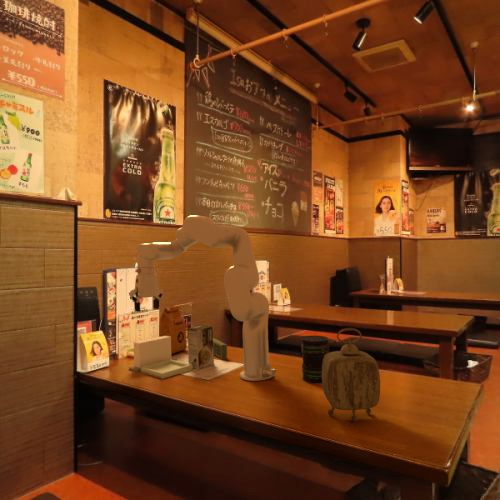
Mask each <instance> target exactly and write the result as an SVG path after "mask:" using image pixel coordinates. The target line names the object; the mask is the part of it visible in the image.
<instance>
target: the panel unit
mask: <svg viewBox="0 0 500 500" xmlns="http://www.w3.org/2000/svg"><path fill="white" fill-rule="evenodd" d="M133 359H134V361H133V362H134V365H132V366H128V370H129V371H133V372H136V373H137V372H138V373H139V372H141V367H145V366H148V365H152V364H156V363H160V362H164V361H167V360H175V361H178V360H177V358H174V357H172V354H171V337H170V336H161V337H159V336H158V337H157V336H156V337H153V338H149V339H148V338H147V339H143V340H139V341H133Z"/></svg>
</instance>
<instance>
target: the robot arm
mask: <svg viewBox="0 0 500 500" xmlns="http://www.w3.org/2000/svg"><path fill="white" fill-rule="evenodd" d="M181 226H182V227H180V228H178V229H177V230H176V231H175V239H173V240H171V241H169V242H150V243H138V244H137V247H136V258H137V259H136V261H137V263H136V264H137V268H136V269H135V270H134V271H135V273H136V276H135V281H134V289H132V290H131V291H130V292H128V295H129V297H130V300H132V302H133V303H134V305H133V307H134V311H135V312H141V302H140V301H141V300H142V299H144V298H146V299H147V298H153V309H155V310H159V309H160V300H161V298H162V296H163V293H164V291H165V290H164V289H163V288H161V287H160V286H159V283H160V282H159V277H158V274H157V273H156V261H161V260H172V259H175V258H176V257H178V256H181V255H183V254H184V253H186V251H187V250H188V249H189V247H191V246H193V245H195V244H196V243H201V244H204V245H206V246H209V247H212V248H231V260H232V264H233V266H230V267H229V268H228V269H227V270H226V271H225V274H224V277H223V284H224V289H225V294H226V298H227V302H228V307H229V310H230V314H231V315H232V317H233V318H234V319H236V321H239V322H243V323H242V349H243V350H242V351H243V352H242V354H243V356H242V357H243V358H242V359H243V370H242V371H240V372H239V377H240V378H241V379H242V380H245V381H250V382H256V381H257V382H259V381H265V380H269V379H271V378H273V377H274V376H275V375H276V373H277V370H276V369H275V368H272V364H270V362H269V330H268V329H269V327H268V326H269V314H270V313H269V312H270V302H269V299H268V297H267V296H266V295H265V294H263V293H262V292H258V291H256V292H255V291H252V292H251V291H250V290H252V289H255V288H257V286H258V285H259V284H260V283H259V282H260V274H259V270H258V266H257V262H256V257H255V255H254V250H253V244H252V240H251V237H250V235H249V233H248V232H247V231H246V230H245V229H244V228H241V227H239V226H235V225H223V224H215V222H214V221H213V220H212V219H211V218H210V217H208V216H202V215H189V216H187V217H186V218H184V220H183V222H182V225H181Z"/></svg>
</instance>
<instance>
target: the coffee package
mask: <svg viewBox="0 0 500 500" xmlns="http://www.w3.org/2000/svg"><path fill="white" fill-rule="evenodd" d="M180 309H181V306H180V305H174V306H171V307H170V306H169V307H164V309H163V311H162V314H161V316H160V319H159V327H158V329H159V332H158V335H159V336H158V337H161V336H170V337H171V355H172V354H176V353H180V352H183V351H186V349H188V342H187V327H186V323H185V321H184V318H183V317H182V315H181V311H180Z"/></svg>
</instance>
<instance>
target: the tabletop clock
mask: <svg viewBox="0 0 500 500" xmlns="http://www.w3.org/2000/svg"><path fill="white" fill-rule="evenodd" d="M346 331H347V332H348V331H354V332H356V333H358V335H359V338H357V339H355V340H352V338H351V337H348V338H347V339H346V340H343V339H341V338H340V337H339V336H340V334H342V333H343V332H346ZM362 337H363V335H362V333H361V331H360V330H359V329H357V328H353V327H346V328H342V329H340V330H339V331H338V332H337V334H336V338H337V341H339V342H340V343H343V344H344V345H342V346H341V349H340V350H339V351H338V350H335V351H329V353H328V354H326V355H325V356H324V359H323V363H322V383H321V384H322V390H323V394H324V395H325V396H324V397H325V398H326V400H327V401H328V403H329V404H330V407H331V409H328V411H327V414H328V416H333V415H334V411H335V409H336V410H341V411H351V412H352V415H351V417H350V418H351V421H352V422H353V423H356V422H357V421H358V417H357V416H356V411H359V410H360V411H361V410H364V411H365V414H367V415H370V414H371V413H372V410H371V409H372V408H374V407H377V405H378V404H379V401H380V396H381V375H380V368H379V364H378V362H377V360H376V358H374V357H373V356H371V355H370V354H369V353H367V352H365V351H363V350H362V351H361V350H360V349H359V348H358V347H357V346H356V345H355V344H354V343H359V341H360V340H361V339H362Z"/></svg>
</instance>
